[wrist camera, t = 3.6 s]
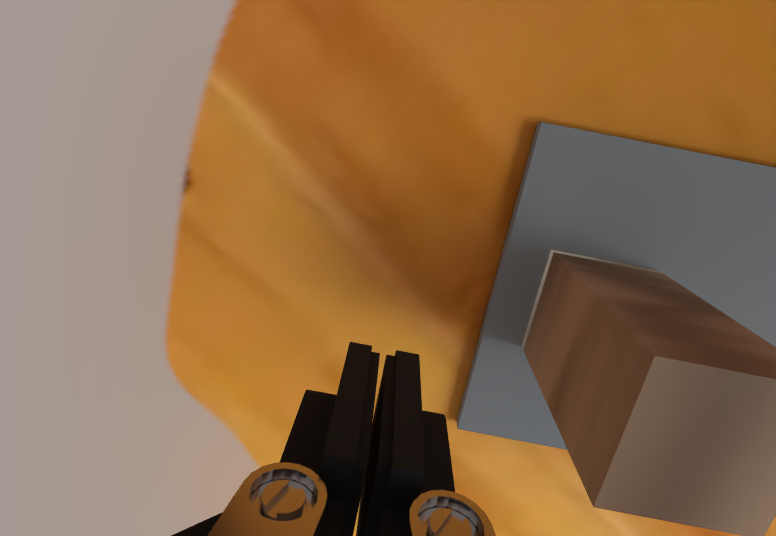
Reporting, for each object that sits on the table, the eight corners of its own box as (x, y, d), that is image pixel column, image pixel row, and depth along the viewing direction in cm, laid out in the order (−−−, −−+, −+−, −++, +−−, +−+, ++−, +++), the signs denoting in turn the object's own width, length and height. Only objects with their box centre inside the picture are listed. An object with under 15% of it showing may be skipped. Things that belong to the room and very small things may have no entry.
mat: (1088, 229, 19) (1109, 232, 18) (903, 506, 23) (915, 516, 23) (538, 121, 19) (541, 122, 18) (456, 420, 23) (457, 428, 23)
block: (658, 270, 20) (844, 392, 11) (621, 366, 21) (762, 539, 13) (550, 249, 20) (654, 355, 11) (521, 346, 21) (593, 507, 13)
